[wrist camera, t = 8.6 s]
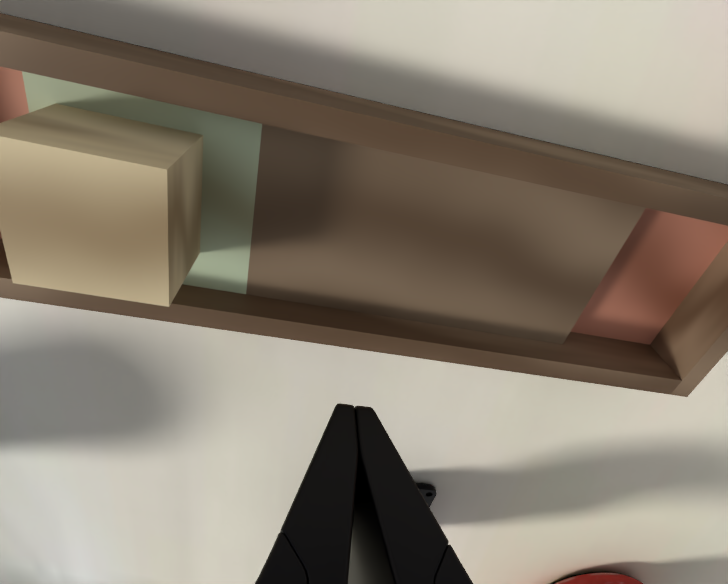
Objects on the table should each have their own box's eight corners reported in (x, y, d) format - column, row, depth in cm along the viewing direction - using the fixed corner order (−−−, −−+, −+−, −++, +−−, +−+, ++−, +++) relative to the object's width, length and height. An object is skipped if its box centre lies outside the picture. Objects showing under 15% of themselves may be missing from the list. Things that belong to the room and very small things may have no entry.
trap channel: (653, 357, 25) (687, 396, 23) (-68, 243, 20) (-127, 278, 17) (777, 196, 20) (839, 224, 18) (-160, -25, 14) (-266, -31, 12)
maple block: (199, 252, 19) (169, 306, 15) (74, 231, 18) (12, 283, 15) (203, 135, 16) (167, 169, 13) (55, 103, 15) (-24, 131, 12)
